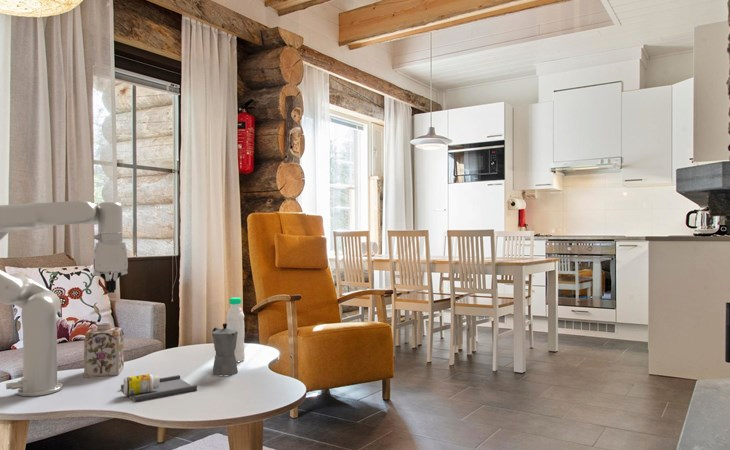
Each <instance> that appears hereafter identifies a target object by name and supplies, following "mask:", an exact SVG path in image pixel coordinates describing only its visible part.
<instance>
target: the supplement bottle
mask: <svg viewBox="0 0 730 450" xmlns="http://www.w3.org/2000/svg"><path fill="white" fill-rule="evenodd" d="M159 378H160V376H159V375H152V373H151V374H150V373H148V374H142V375H141V374H140V375H132V376H131V375H130V376H126V377H124V378H123V384H124V392H123V394H124V395H125V396H128V395H132V394H140V393H147V392H152V390H153V389H157V388H159Z"/></svg>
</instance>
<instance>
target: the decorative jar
mask: <svg viewBox="0 0 730 450" xmlns="http://www.w3.org/2000/svg"><path fill="white" fill-rule="evenodd" d="M96 325H97V326H96V327H94V328H91V329H89V330H87V331H86V332H85V336H84V339H83V343H84V346H83V347H84V352H83V362H84V363H83V370H84V371H83V376H84V378H98V377H111V376H112V377H113V376H119V375H120V373H121V372H122V370H123V369H124V366H125V363H124V361H125V341H124V340H125V336H124V335H125V332H124V330H123V328H122V327H118V326H117V327H116V326H114V327H113V326H112V323H109V322H108V323H107V322H105V323H104V322H103V323H98V324H96Z"/></svg>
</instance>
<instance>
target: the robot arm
mask: <svg viewBox="0 0 730 450" xmlns="http://www.w3.org/2000/svg"><path fill="white" fill-rule="evenodd" d="M122 205H123V204H121V203H120V202H114V201H103V202H100V203H98V202H90V201H88V200H70V201H69V200H67V201H55V202H31V203H17V204H15V203H14V204H1V205H0V241H2V240H3V238H5V237H6V236H7V234H9V233H10V232H17V231H30V230H40V229H46V228H49V227H57V226H63V225H64V226H65V225H66V226H67V225H80V224H83V225H89V224H97V234H95V235H93V238H92V239H93V240H96V241H97V242H96V243H95V247H94V253H93V272H92V275H93V277H94V276H97V277H101V278H102V280H104V282H105V284H104V286H105V287H104V288H105V289H104V290H105V291H106V293H108V294H111V293H113V294H114V293H115V290H116V289H117V281H118V279H119V278H120V277H121V276H124V275H127V274H128V273H129V272H128V268H129V267H128V266H129V262H128V261H129V259H128V252H127V245H126V242H125V241H123V206H122ZM110 273H111V278H110ZM0 304H1V305H5V306H11V305H14V306H17V307H18V308H20V309H21V312H20V313H21V314H20V315H21V324H22V345H23V347H22V350H23V352H22V353H23V356H22V358H23V360H22V362H23V363H22V364H23V365H22V366H23V376H22V377H20V379H21V380H17V381H16V382H8V383H7V382H6V383H5V389H6V391H7V390H17V395H19V396H21V397H38V396H44V395H50V394H54V393H57V392H60V391H62V389H63V383H61V382H58V326H57V314H58V313H60V310H61V307H62V301H61V299H60V297H59V296H58V295H57V294H56V293H55V292H54V291H52V290H50V289H49V288H47V287H45V286H43V285H42V284H40V283H38V282H36V281H35V280H33V279H31V278H29V277H27V276H25V275H24V274H18V273H11V274H10V273H8V272H6V271H4V270H2V269H0Z"/></svg>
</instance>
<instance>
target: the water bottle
mask: <svg viewBox="0 0 730 450" xmlns="http://www.w3.org/2000/svg"><path fill="white" fill-rule="evenodd" d="M228 302H229V306H230V308H228V312H227V314H226V316H225V319H226V324H227V328H228V329H234V330H237V331H238V334H237V341H236V349H235V350H234V354H235V358H236V363H239V362H238V361H242V362H243V361H244V360H245V359H246V358H245V347H246V346H245V314H244V311H243V309H242V308H241V304H242V298H241V297H231V298H229V299H228Z"/></svg>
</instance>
